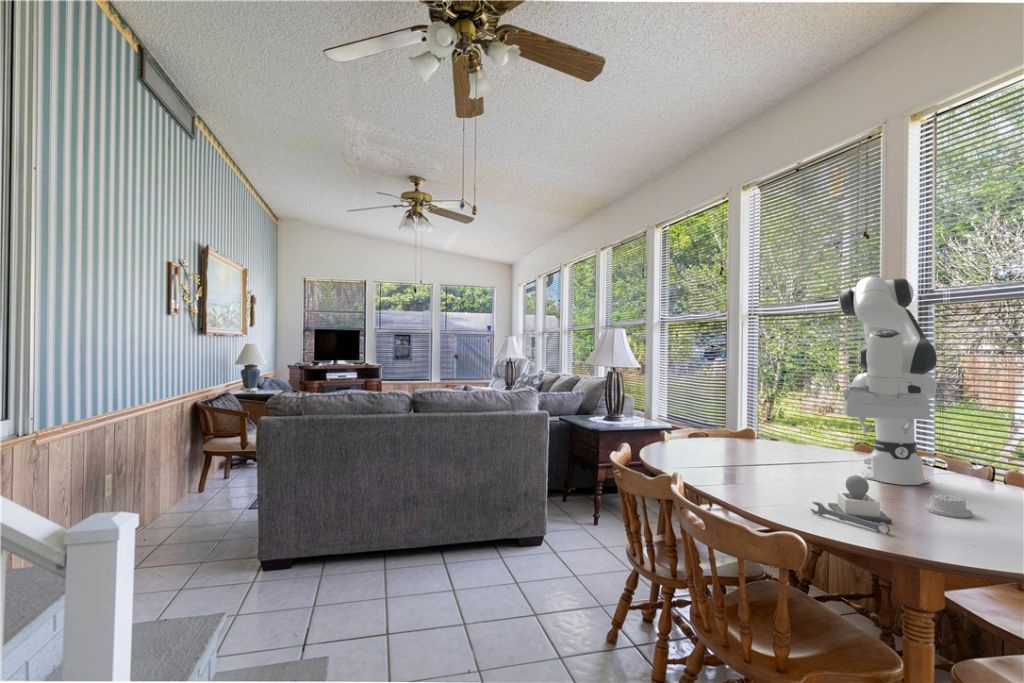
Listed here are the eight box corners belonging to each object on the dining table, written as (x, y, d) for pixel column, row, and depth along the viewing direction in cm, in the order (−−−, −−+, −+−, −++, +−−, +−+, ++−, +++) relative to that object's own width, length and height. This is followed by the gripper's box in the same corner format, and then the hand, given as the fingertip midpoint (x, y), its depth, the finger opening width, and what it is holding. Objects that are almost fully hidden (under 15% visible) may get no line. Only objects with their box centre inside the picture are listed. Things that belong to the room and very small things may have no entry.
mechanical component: (929, 505, 147) (922, 512, 141) (928, 490, 148) (921, 497, 141) (974, 513, 140) (969, 521, 133) (973, 497, 140) (968, 505, 134)
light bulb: (874, 511, 139) (872, 476, 139) (863, 515, 136) (861, 478, 136) (853, 506, 143) (851, 472, 144) (842, 509, 141) (840, 474, 141)
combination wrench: (890, 522, 125) (812, 499, 142) (888, 523, 124) (809, 500, 142) (890, 537, 125) (812, 512, 142) (888, 538, 124) (809, 513, 142)
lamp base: (828, 506, 147) (827, 489, 147) (875, 510, 143) (875, 492, 143) (839, 519, 136) (839, 501, 136) (891, 523, 132) (891, 505, 132)
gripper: (846, 386, 144) (846, 433, 144) (932, 388, 136) (932, 437, 137) (840, 384, 149) (840, 429, 150) (922, 385, 142) (923, 432, 143)
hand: (885, 433), depth 143 cm, fingers open, 8 cm apart
